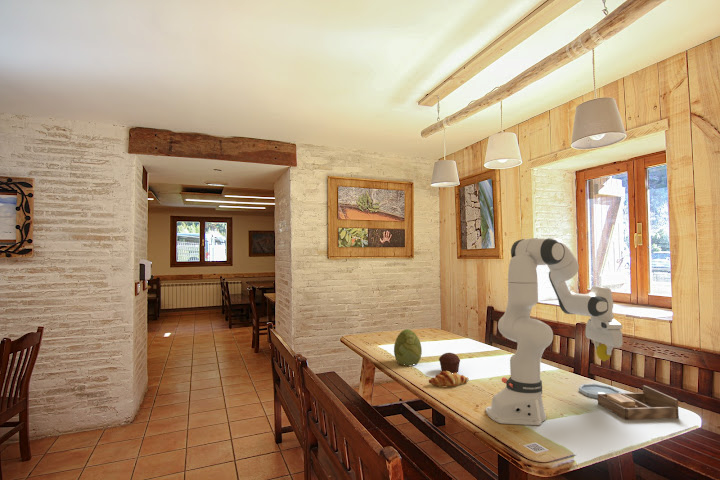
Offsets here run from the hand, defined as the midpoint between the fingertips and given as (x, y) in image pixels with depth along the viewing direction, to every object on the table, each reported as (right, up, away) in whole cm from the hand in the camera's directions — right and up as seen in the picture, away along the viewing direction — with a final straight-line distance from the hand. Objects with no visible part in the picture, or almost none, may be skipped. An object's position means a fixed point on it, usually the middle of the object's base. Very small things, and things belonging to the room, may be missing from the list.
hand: (603, 352), depth 170 cm
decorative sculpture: (-82, -23, +53) cm, 100 cm away
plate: (-1, -19, +2) cm, 19 cm away
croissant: (-66, -21, +16) cm, 71 cm away
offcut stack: (-4, -19, -18) cm, 26 cm away
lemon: (0, -4, 0) cm, 4 cm away
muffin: (-61, -22, +36) cm, 74 cm away
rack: (+2, -18, -17) cm, 25 cm away
